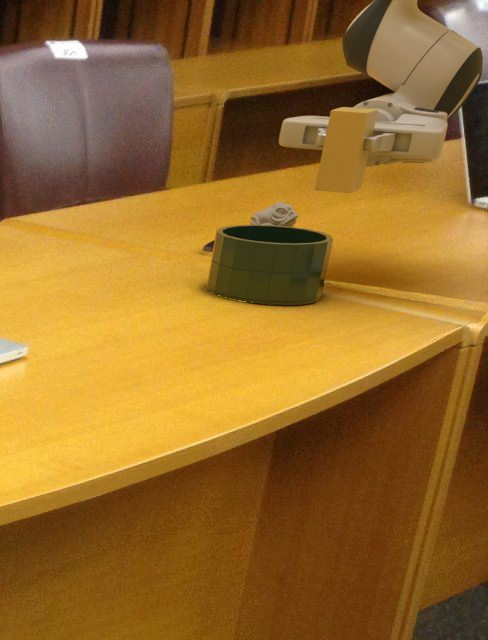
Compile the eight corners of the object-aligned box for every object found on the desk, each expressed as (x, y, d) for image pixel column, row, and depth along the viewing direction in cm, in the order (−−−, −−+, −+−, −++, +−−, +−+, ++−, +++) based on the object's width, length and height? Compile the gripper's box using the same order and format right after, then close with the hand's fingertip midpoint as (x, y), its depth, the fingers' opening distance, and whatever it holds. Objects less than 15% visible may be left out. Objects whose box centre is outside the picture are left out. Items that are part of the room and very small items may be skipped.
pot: (333, 291, 212) (346, 232, 208) (301, 310, 201) (314, 248, 198) (227, 277, 220) (237, 220, 216) (190, 295, 210) (201, 235, 206)
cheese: (360, 188, 204) (378, 109, 199) (350, 193, 200) (367, 112, 196) (325, 185, 206) (341, 106, 202) (314, 189, 203) (330, 110, 198)
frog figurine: (281, 254, 236) (292, 208, 233) (237, 247, 240) (247, 201, 237) (296, 249, 240) (307, 203, 237) (253, 241, 244) (263, 196, 241)
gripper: (301, 102, 214) (269, 111, 204) (461, 113, 203) (435, 123, 193) (291, 149, 217) (260, 160, 207) (449, 162, 205) (423, 175, 196)
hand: (346, 142), depth 200 cm, fingers closed on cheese, 4 cm apart
